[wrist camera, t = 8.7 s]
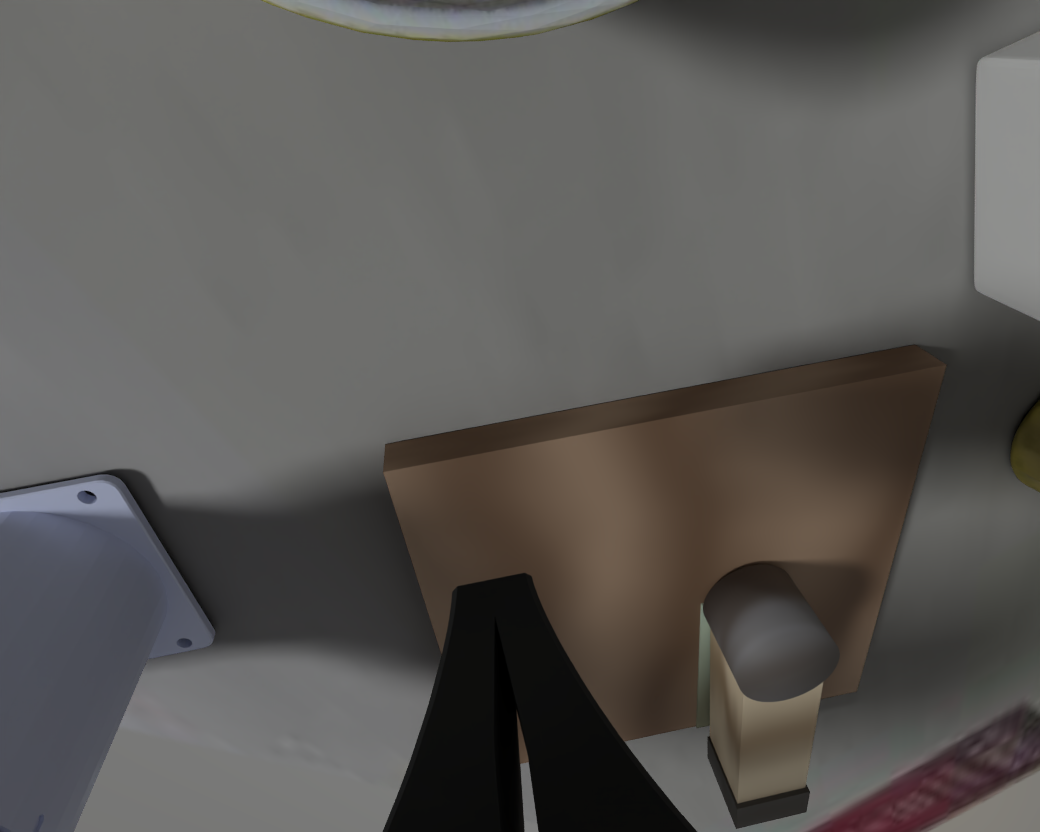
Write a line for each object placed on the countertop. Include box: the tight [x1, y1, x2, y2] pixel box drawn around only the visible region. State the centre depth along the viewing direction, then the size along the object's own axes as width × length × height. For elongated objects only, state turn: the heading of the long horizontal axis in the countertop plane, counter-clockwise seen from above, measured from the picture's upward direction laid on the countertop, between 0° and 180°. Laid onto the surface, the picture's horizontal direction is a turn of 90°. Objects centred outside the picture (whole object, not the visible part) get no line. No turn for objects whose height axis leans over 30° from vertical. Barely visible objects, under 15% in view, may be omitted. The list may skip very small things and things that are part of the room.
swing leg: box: [703, 565, 840, 829], centre depth 25 cm, size 13×4×3 cm, turn 10°
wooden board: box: [383, 345, 947, 764], centre depth 25 cm, size 18×18×2 cm
